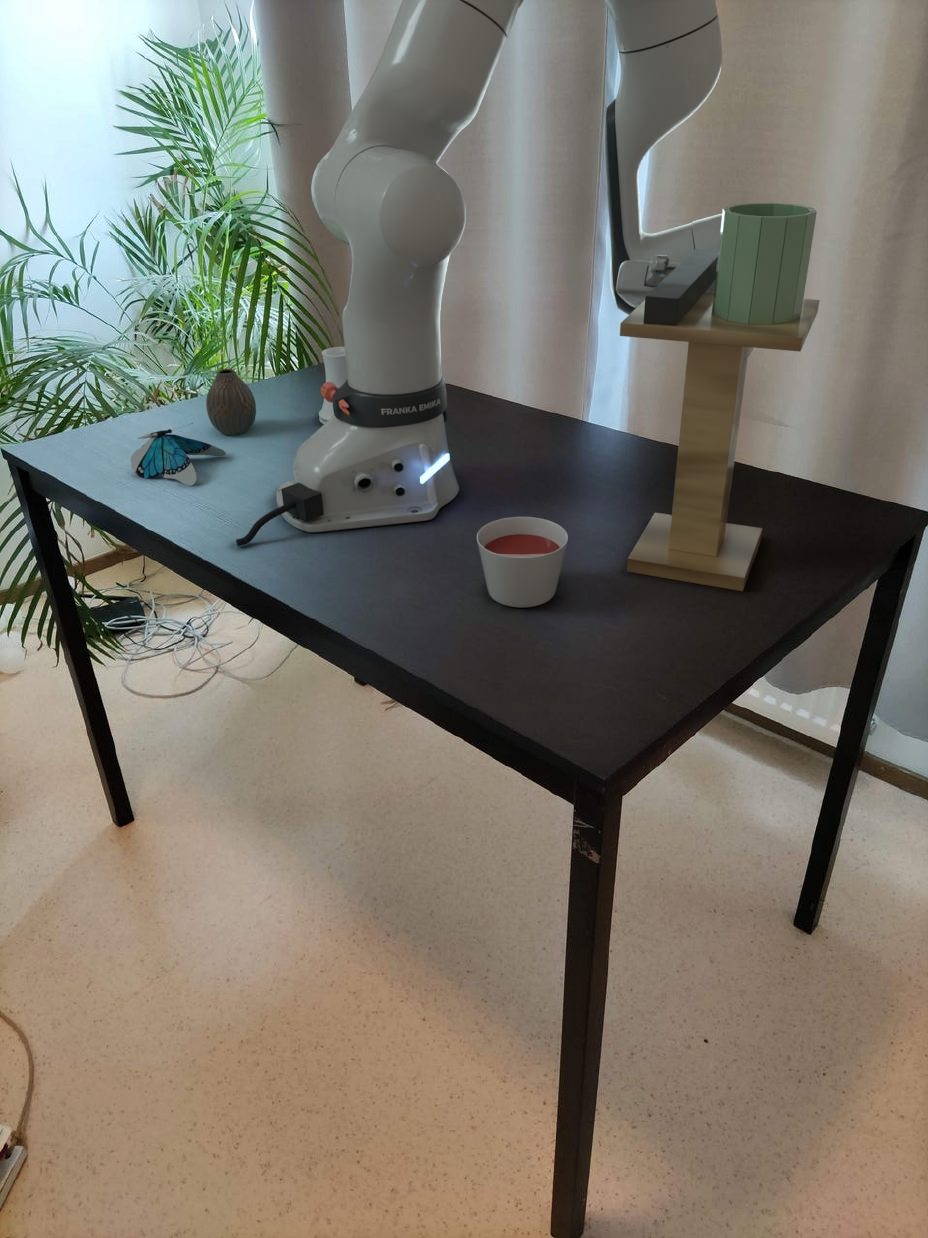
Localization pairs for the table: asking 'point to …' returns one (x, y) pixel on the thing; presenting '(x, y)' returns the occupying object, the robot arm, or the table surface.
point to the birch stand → (708, 446)
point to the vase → (230, 404)
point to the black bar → (681, 288)
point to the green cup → (763, 262)
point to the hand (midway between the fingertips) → (701, 264)
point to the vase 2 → (333, 376)
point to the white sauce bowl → (522, 559)
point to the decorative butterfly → (170, 456)
